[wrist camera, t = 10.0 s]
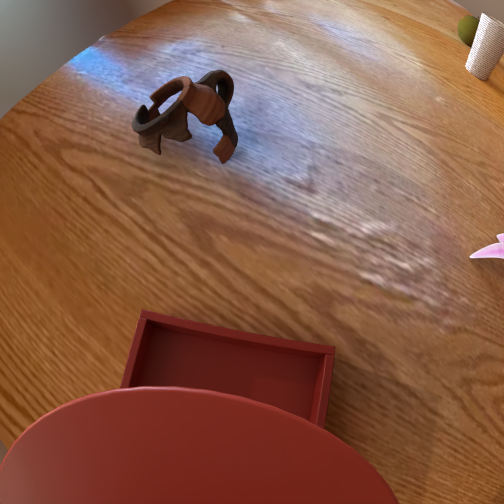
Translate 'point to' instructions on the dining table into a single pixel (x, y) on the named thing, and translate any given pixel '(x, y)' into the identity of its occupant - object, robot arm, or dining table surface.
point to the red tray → (231, 364)
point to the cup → (486, 47)
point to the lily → (492, 250)
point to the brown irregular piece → (196, 102)
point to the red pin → (183, 454)
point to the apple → (468, 29)
